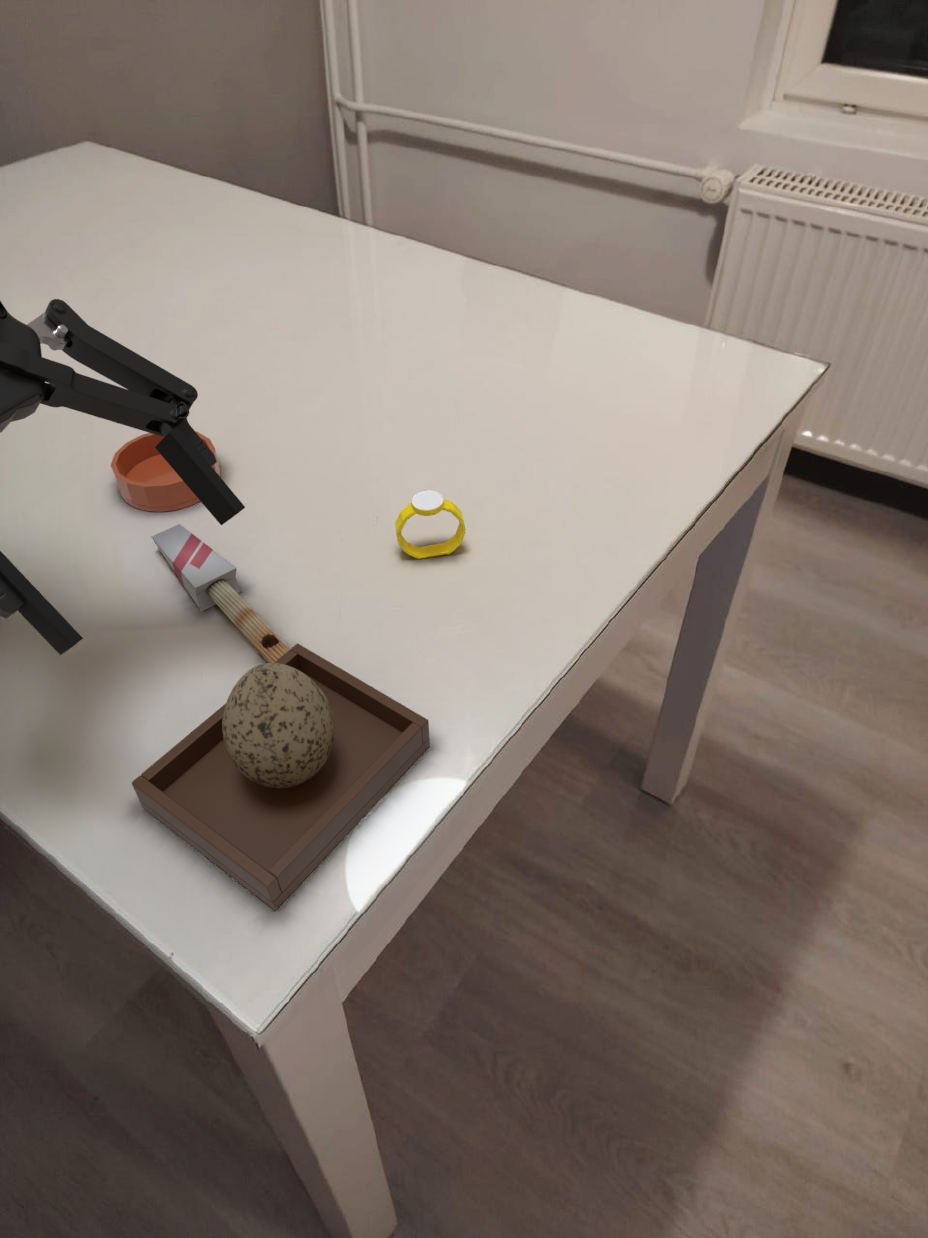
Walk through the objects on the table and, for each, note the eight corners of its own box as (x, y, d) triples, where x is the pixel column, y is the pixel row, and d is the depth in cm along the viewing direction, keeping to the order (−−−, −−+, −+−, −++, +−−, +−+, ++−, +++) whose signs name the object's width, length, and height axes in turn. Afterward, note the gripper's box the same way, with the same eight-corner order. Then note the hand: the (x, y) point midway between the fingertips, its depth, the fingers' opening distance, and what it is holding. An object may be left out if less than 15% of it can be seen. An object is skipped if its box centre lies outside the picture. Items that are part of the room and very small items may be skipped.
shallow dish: (111, 514, 82) (101, 488, 80) (130, 456, 88) (122, 431, 86) (214, 509, 82) (207, 483, 80) (225, 451, 89) (219, 426, 87)
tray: (275, 911, 53) (267, 887, 51) (142, 808, 59) (130, 782, 57) (430, 745, 62) (428, 719, 60) (302, 669, 68) (297, 642, 66)
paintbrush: (182, 508, 77) (303, 639, 67) (188, 531, 79) (307, 663, 69) (141, 525, 75) (259, 663, 65) (148, 549, 77) (264, 686, 67)
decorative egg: (279, 831, 56) (252, 737, 49) (215, 768, 60) (181, 672, 53) (362, 765, 60) (348, 669, 53) (297, 710, 63) (276, 613, 56)
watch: (462, 539, 79) (461, 485, 75) (467, 559, 77) (467, 505, 73) (396, 546, 78) (392, 493, 74) (400, 566, 76) (396, 513, 72)
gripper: (57, 236, 58) (264, 489, 64) (-341, 415, 43) (-25, 722, 49) (88, 168, 52) (313, 453, 58) (-358, 348, 38) (2, 705, 43)
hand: (159, 577), depth 54 cm, fingers open, 13 cm apart
